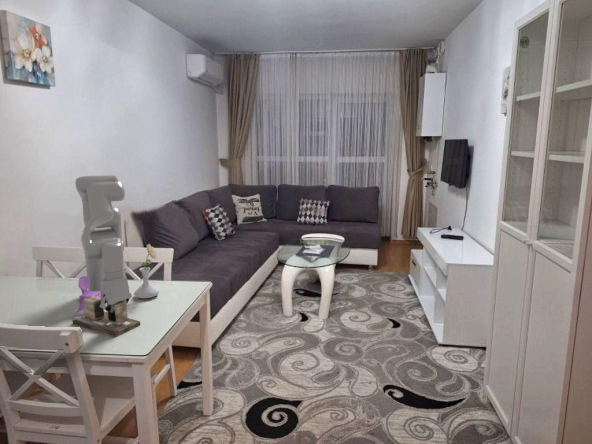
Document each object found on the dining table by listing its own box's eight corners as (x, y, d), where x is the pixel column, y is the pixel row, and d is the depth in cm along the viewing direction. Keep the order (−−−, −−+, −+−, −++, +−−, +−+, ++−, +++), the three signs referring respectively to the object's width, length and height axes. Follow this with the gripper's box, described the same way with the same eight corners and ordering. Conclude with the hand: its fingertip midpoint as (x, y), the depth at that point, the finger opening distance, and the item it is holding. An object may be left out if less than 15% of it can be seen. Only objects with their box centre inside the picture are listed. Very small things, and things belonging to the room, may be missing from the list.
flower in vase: (148, 302, 190) (145, 249, 185) (128, 298, 194) (124, 247, 189) (166, 292, 202) (163, 243, 198) (147, 289, 206) (143, 241, 201)
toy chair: (96, 313, 177) (93, 280, 174) (75, 313, 177) (72, 280, 174) (105, 306, 185) (102, 274, 182) (86, 305, 185) (83, 274, 182)
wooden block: (118, 324, 159) (117, 305, 158) (107, 321, 162) (105, 302, 161) (127, 320, 163) (126, 301, 162) (116, 317, 166) (114, 298, 165)
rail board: (98, 313, 177) (97, 292, 175) (140, 324, 166) (138, 302, 164) (72, 323, 167) (70, 301, 165) (115, 336, 155) (113, 313, 154)
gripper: (125, 267, 168) (128, 309, 171) (88, 278, 153) (92, 324, 157) (138, 269, 165) (141, 312, 168) (101, 281, 150) (105, 328, 153)
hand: (117, 317), depth 162 cm, fingers closed on wooden block, 4 cm apart
